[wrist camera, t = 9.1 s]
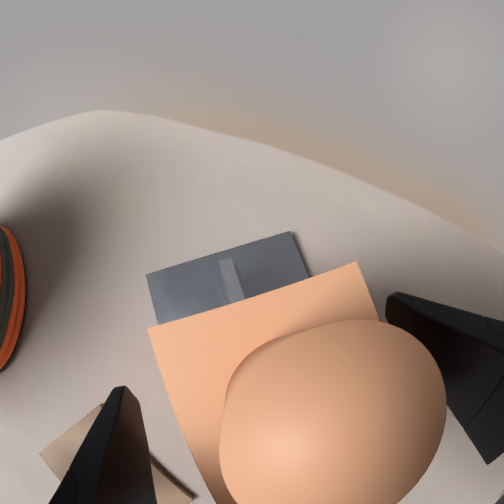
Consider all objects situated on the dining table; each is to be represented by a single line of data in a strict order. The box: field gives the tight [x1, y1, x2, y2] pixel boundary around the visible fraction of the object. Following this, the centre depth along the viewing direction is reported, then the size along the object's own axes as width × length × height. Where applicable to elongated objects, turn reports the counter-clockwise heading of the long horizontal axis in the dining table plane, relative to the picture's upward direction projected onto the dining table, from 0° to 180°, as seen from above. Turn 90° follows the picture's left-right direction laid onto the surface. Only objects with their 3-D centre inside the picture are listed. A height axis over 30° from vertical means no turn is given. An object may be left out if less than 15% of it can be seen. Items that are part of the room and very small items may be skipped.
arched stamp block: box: [147, 261, 447, 504], centre depth 9 cm, size 6×6×14 cm
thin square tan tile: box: [39, 404, 193, 504], centre depth 12 cm, size 9×9×1 cm
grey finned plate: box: [146, 231, 309, 325], centre depth 14 cm, size 16×10×5 cm, turn 19°
